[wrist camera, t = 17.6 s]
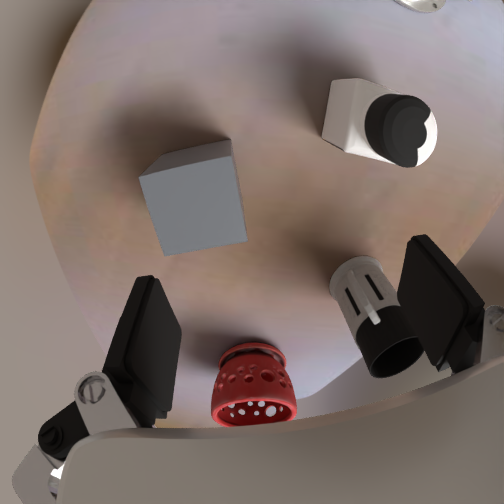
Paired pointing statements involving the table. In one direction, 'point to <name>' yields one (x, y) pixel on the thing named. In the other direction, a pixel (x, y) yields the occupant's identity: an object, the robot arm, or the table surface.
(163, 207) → the gray cube
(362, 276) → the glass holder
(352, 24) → the table surface
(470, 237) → the table surface
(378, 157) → the medicine bottle
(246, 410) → the plant pot
